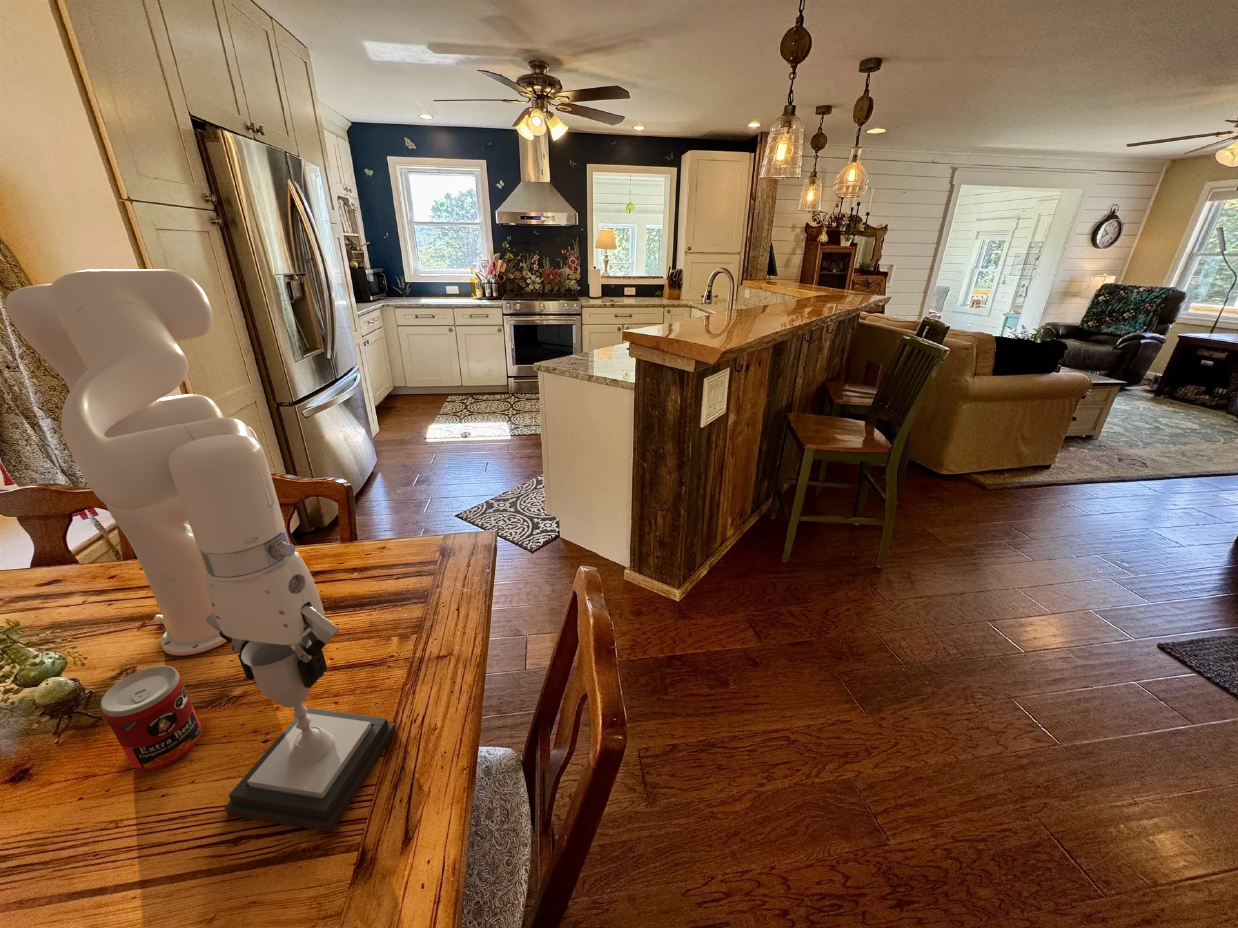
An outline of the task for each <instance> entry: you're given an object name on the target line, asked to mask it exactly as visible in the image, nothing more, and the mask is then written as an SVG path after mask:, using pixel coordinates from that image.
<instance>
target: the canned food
mask: <svg viewBox="0 0 1238 928" xmlns="http://www.w3.org/2000/svg"><path fill="white" fill-rule="evenodd" d="M100 708H101V711H102V713H103V715H104V718H105V719H106V721H107V723H108V725H109V727H110V729H111V730H112V732H113V734H114V736H115V738H116V739H117V741H118V744H119V745H120V747H121V749H122V750H123V752H124V754H125V756H126V758H127V759H128V762H129V763H130V765H131V766H133V767H134V768H136V769H137V770H140V771H145V772H147V771H155V770H158V769H162V768H165V767H167V766H170V765H171V764H173V763H176V762H177V761H178V760H180V759H181V758H183V757H184V756H185V755H187V754H188V753H189V752H190V751H191V750H192V749H193V748H194V747H195V745H197V743H198V742H199V739H200V737H201V732H202V725H201V722H200V720H199V717H198V715H197V713H196V711H195V708H194V705H193V704H192V700H191V699H190V696H189V694H188V691H187V689H186V687H185V684H184V682H183V679H182V678H181V676H180V673H179V672H178V670H177V669H176V668H175V667H173V666H169V665H156V666H152V667H151V666H150V667H147V668H144V669H141V670H138V671H136V672H133V673H131V674H130V675H128V676H126V677H123V679H121V680H119V681H118V682H117V683H115V684H114V685H113V686H112V687H110V688H109V689H108V690H107V691H106V693H105V694H104V695H103V696H102V698H101V701H100Z"/></svg>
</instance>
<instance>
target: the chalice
mask: <svg viewBox="0 0 1238 928" xmlns="http://www.w3.org/2000/svg"><path fill="white" fill-rule="evenodd" d="M301 642H302V643H303V644H304V645H305V647H306V648H308V647H309V646H310V645H311V644H312V642H311V641H310V640H309V639H308V637H307V636H305V637H304V638H303V639H302V641H301ZM241 659H242V661H243V662H244V663H245V664H247V665H249V666H250V667H251V669H252V672H253V675H254V678H255V679H254V680H255V683H256V686H257V689H258V690H259V692H261V693H262V694H263V695H264V696H265V697H266V698H268V699H269V700H271V701H272V702H274V703H277V704H278V705H281V706H282V707H284V708H288V709H289V708H293V709H294V710H293V713H292V717H293V718H294V719H295V718H297V719H298V722H297V723H296V728H298V729H301V730H302V732H301V733H300V734H299V735H298V736H297V737H296V739H295V740H294V743H293V747H292V750H291V754H290V762H291V763H292V765H294V766H296V767H307V766H311V765H313V764H315V763H317V762H319V761H320V760H322V759H323V758H324V757H325V756H326V755H327V754H328V753H329V752H330V750H331V749H332V747H333V744H334V737H333V736H332V735H331V734H330V733H328V732H327V731H325V730H324V729H323V728H321V727H311V728H310V723H311V721H312V718H311V717H308V716H306V712H307V710H308V708H309V707H307V706H305V705H304V702H305V701H306V700H307V698H308V697H309V694H310V692H311V688H312V687H311V688H305V687H304V685H303V682H302V679H301V675H300V672H299V669H298V666H297V663H298V661H299V660H300V658H299V657H298V655H297V654H296V653H295V652H294V651H293V649H292V648H291V647H290V646H289V645H281V644H271V643H263V642H255V641H250V642H249V643H248V644H247V645H246V646H245V648H244V649H243V651H242V654H241Z"/></svg>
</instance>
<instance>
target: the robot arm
mask: <svg viewBox="0 0 1238 928" xmlns="http://www.w3.org/2000/svg"><path fill="white" fill-rule="evenodd" d="M5 307H6V311H7V313H8V316H9V317H10V320H11V322H12V323H13V325H14V327H15V328H16V330H17V331H18V332H19V334H20V336H22V337H23V339H24V340H25V341H26V342H27V343H28V345H30V346H31V348H32V349H34V351H35V352H36V353H38V355H39V356H41V357H42V358H43V360H44V361H46V362H47V363H48V364H49V365H50V366H51V367H52V368H53V369H54V370H55V371H56V372H57V373H58V374H59V376H60V377H61V378H62V379H63V380H64V382H65V384H66V386H67V388H68V389H69V393H68V395H67V396H66V398H65V400H64V403H63V406H62V410H61V419H60V422H61V423H60V424H61V431H62V434H63V435H62V436H63V439H64V440H65V443H66V445H67V447H68V450H69V452H70V454H71V455H72V457H73V459H74V461H75V463H76V465H77V467H78V469H79V470H80V472H81V474H82V476H83V478H84V479H85V481H86V483H87V485H88V486H89V489H90V490H91V491H92V492H93V494H94V495H95V496H96V498H98V500H100V502H102V503H103V504H104V505H105V506H106V509H107V511H108V512H109V514H110V516H111V517H112V519H113V520H114V522H115V523H116V525H117V526H118V527H119V529H120V530H121V532H122V533H123V534H124V536H125V538H126V539H127V542H128V543H129V544H130V546H131V548H132V550H133V552H134V554H135V557H136V559H137V560H138V563H139V565H140V567H141V569H142V572H143V574H144V576H145V579H146V581H147V583H148V586H149V588H150V590H151V593H152V595H153V597H154V599H155V602H156V604H157V607H158V609H159V613H160V614H156V615H155V616H154V617H153V619H152V620H153V622H154V623H158V624H163V626H164V628H165V632H164V633H163V635H162V636H161V639H160V646H161V648H162V650H163V651H164V652H165V653H166V654H169V655H170V656H180V657H181V656H191V655H196V654H200V653H201V654H202V653H204V652H207V651H210V650H212V649H215V648H217V647H220V646H222V645H223V644H225V643H227V642H228V643H229V644H230V648H229V649H230V650H231V652H232V653H234V654H237V657H238V659H239V663H240V665H241V668H242V670H243V673H244V677H245V679H246V680H247V681H253V680H255V678H254V675H253V672H252V669H251V667H250V666H249V665H247V664H245V663H244V662H243V661H242V659H241V654H242V651H243V649H244V648H245V646H246V645H247V644H248V643H249V642H250V641H255V642H263V643H271V644H281V645H289V646H290V647H291V648H292V649H293V651H294V652H295V653H296V654H297V655H298V657H299V658H300V660H299V661H298V663H297V666H298V669H299V672H300V675H301V679H302V682H303V685H304V687H305V688H312V687H313V686H314V685H315V684H316V683H317V682H318V680H319V679H320V678H321V677H322V676H324V674H325V672H326V671H327V670H328V665H327V662H326V659H325V655H324V651H323V649H324V648H325V647H326V646H327V645H328V643H329V642H330V641H332V639H333V638H334V637H335V636H336V634H338V633H339V631H340V627H338V626H337V625H336V624H335V623H333V622H332V621H331V620H329V619H328V618H326V614H325V610H324V606H323V602H322V600H321V597H320V594H319V591H318V588H317V586H316V583H315V581H314V578H313V576H312V574H311V572H310V570H309V568H308V566H307V564H306V562H305V561H304V559H303V557H302V556H301V555H300V553H299V552H298V551H296V545H295V544H293V543H291V542H290V538H289V534H288V531H287V527H286V524H285V520H284V516H283V513H282V510H281V507H280V506H281V505H280V502H279V499H278V495H277V492H276V488H275V484H274V482H273V478H272V474H271V470H270V467H269V464H268V460H267V457H266V454H265V451H264V448H263V446H262V445H261V442H260V440H259V437H258V436H257V434H256V432H255V430H254V429H253V428H252V427H250V426H247V425H246V423H244V422H243V421H241V420H240V419H237V418H235V417H225V416H224V414H223V413H222V411H221V410H220V408H219V406H218V405H217V404H216V403H215V402H214V401H213V399H211V398H210V397H208V396H205V395H203V394H198V393H197V394H196V393H190V394H189V393H188V394H179V395H174V396H167V395H169V394H170V393H172V392H174V391H175V390H176V389H178V387H180V385H181V384H182V383H183V382H184V381H185V380H186V378H187V377H188V373H189V362H188V359H187V356H186V355H185V353H184V352H183V350H182V349H181V347H180V346H179V345H178V343H177V342H182V341H187V340H192V339H196V338H200V337H202V336H205V335H207V334H208V333H209V332H210V330H211V329H212V327H213V324H214V314H213V313H214V312H213V309H212V306H211V304H210V301H209V298H208V296H207V295H206V293H205V292H204V290H203V289H202V287H201V286H200V285H199V284H198V282H196V280H194V279H193V278H191V277H190V276H189V275H187V274H185V273H183V272H181V271H178V270H174V269H164V268H163V269H162V268H161V269H159V268H157V269H156V268H155V269H152V268H151V269H146V268H145V269H84V270H76V271H72V272H69V273H65V274H63V275H61V276H59V277H58V278H56V279H55V280H54V281H53V282H52V283H45V284H35V285H29V286H25V287H21V288H17V289H15V290H13V291H11V292H10V293H9V294H8V295H7V296H6V298H5ZM165 396H166V397H165ZM187 523H188V524H187ZM305 636H307V637H308V639H309V640H310V642H311V645H310V646H309V647H308V648H306V647H305V645H304V644H303V643H302V642H301V641H302V639H303V638H304V637H305Z"/></svg>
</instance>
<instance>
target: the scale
mask: <svg viewBox="0 0 1238 928" xmlns="http://www.w3.org/2000/svg"><path fill="white" fill-rule="evenodd" d="M307 708H308V710H307V712H306V713H308V714H315V715H322V716H329V717H336V718H344V719H351V720H358V721H365V722H371V726H372V729H371V731H370V732H369V733H368V735H367V736H366V738H365V739H364V741H363V742H362V744H361V745H360V747H359V748H358V750H357V751H356V752H355V754H354V755H353V757H352V758H351V760H350V761H349V763H348V764H347V766H346V767H345V769H344V770H343V772H342V773H341V774H340V776H339V777H338V779H337V780H336V782H335V783H334V785H333V786H332V788H331V789H330V791H329V792H328V793H327V795H326V796H325V798H324V799H323V800H321V799H314V798H308V797H302V796H296V795H290V794H283V793H277V792H271V791H265V790H259V789H252V788H250V787H249V784H248V782H247V781H248V780H249V779H250V777H251V776H252V775H253V774H254V773H255V772H256V770H257V769H258V768H259V767H260V766H261V765H262V763H263V762H264V761H265V760H266V759H267V758H268V756H269V755H270V754H271V753H272V752H273V750H274V749H275V748H276V747H277V746H278V745H279V743H280V742H281V741H282V740H283V739H284V738H285V736H286V735H287V734H288V733H289V732H290V731H291V729H292V728H293V727H294V726H295V725H296V723H297V722H298V719H297V718H295V717H294V719H293V720H292V721H291V722H290V724H289V725H287V727H286V728H285V729H284V730H283V731H282V732H281V734H280V735H279V736H278V737H277V739H276V740H275V741H274V742H273V743H272V744H271V745H270V747H269V748H268V749H267V750H266V751H265V752H264V754H263V755H262V756H261V757H260V758H259V759H258V760H257V762H256V763H255V764H253V766H252V767H251V768H250V769H249V771H248V772H247V773H246V774H245V776H244V777H243V778H242V779H241V780H240V781H239V782H238V783H237V785H236V786H235V787H234V788H233V789H232V791H231V792H230V793H229V794H228V797H229V801H228V803H227V804H226V805H225V806H224V811H225V813H226V815H227V816H231V817H237V818H243V819H249V820H255V821H261V822H266V823H271V824H272V823H273V824H278V825H285V826H290V827H295V828H296V827H297V828H302V829H308V830H313V831H318V832H325V833H332V834H333V832H334V830H335V829H336V827H337V826H338V824H339V822H340V821H341V819H342V817H343V816H344V814H345V813H346V811H347V809H348V808H349V806H350V804H351V803H352V801H353V800H354V798H355V797H356V795H357V794H358V792H359V790H360V789H361V787H362V786H363V784H364V783H365V781H366V779H367V778H368V776H369V775H370V773H371V772H372V770H373V768H374V766H375V765H376V763H377V762H378V760H379V758H381V755H382V754H383V752H384V751H385V749H386V748H387V746H388V744H389V743H390V741H391V740H392V738H393V737H394V735H395V733H396V732H397V729H396V724H395V723H393V722H388V718H384V717H377V716H371V715H363V714H357V713H349V712H343V711H342V712H341V711H333V710H327V709H319V708H313V707H307Z"/></svg>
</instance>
